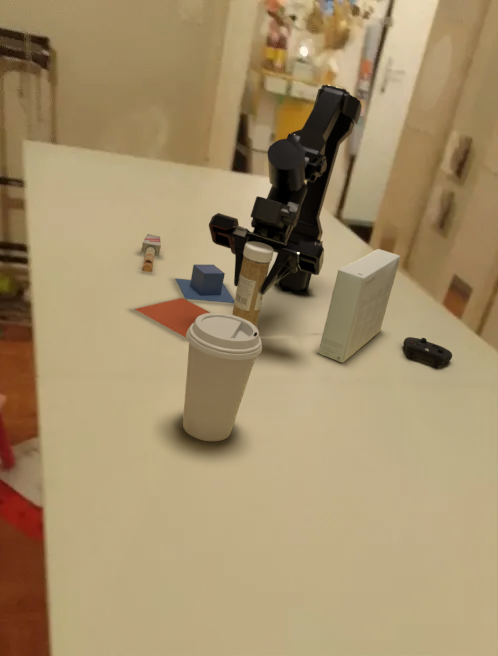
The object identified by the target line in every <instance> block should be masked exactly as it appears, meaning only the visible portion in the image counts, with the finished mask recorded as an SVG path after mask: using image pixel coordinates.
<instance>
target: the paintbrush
mask: <svg viewBox="0 0 498 656" xmlns="http://www.w3.org/2000/svg"><path fill="white" fill-rule="evenodd" d="M161 247H162V245H161V236H159V235H155V234H149V233H147V234H146V236H145V237H144V239H143V241H142V244H141V250H140V254H144V259H143V264H142V271H143V272H147V273H152V272H153V267H154V260H155V257H160V251H161Z"/></svg>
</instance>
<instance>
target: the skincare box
mask: <svg viewBox="0 0 498 656" xmlns="http://www.w3.org/2000/svg"><path fill="white" fill-rule="evenodd" d="M401 257H402V256H401V255H400V254H396V253H393V252H390V251H386V250H384V249H380V248H377V249H375V250H373V251H371V252H369V253H367V254H365V255H363V256H361V257H360V258H358V259H356V260H354V261H352V262H350V263H348V264H346V265H344V266H342V267H341V268H339V269H337V272H336V273H337V274H336V277H335V281H334V285H333V286H334V287H333V290H332V294H331V299H330V303H329V307H328V312H327V316H326V320H325V324H324V329H323V332H322V336H321V341H320V345H319V349H318V354H319V355H321V356H324V357H327V358H329V359H330V360H331V359H332V360H334V361H337V362H339V363H342V364H343V363H344V362H346V361H347V360H348V359H349V358H350V357H352V356H353V355H354V354H355V353H356V352H357V351H359V350H360V349H361V348H363V347H364V345H367V343H369V341H371V340H372V339H373V338H374V337H375V336H376V335H378V334H379V333H380V332H381V329H382V326H383V323H384V318H385V315H386V311H387V308H388V303H389V300H390V297H391V293H392V289H393V286H394V282H395V279H396V276H397V275H396V274H397V272H398V267H399V265H400V261H401Z"/></svg>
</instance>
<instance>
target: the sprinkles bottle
mask: <svg viewBox="0 0 498 656" xmlns="http://www.w3.org/2000/svg"><path fill="white" fill-rule="evenodd" d="M274 253H275V252H274V250H273V248H272V247H271V246H269V245H267V244H264V243H260V242H247V243H246V244H245V247H244V252H243V255H244V256H243V263H242V268H241V272H240V276H239V281H238V285H237V286H236V291H235V297H234V303H233V309H232V313H231V315H234V316H237V317H240V318H243V319H245V320H247V321H249V322H251V323H252V324H253V325H255V326H256V327H257V326H258V320H259V316H260V315H259V314H260V310H261V306H262V302H263V298H264V295H262V294H261V289H262V287H263V284H264V282H265V280H266V278H267V276H268V274H269V268H270V265H271V262H272V260H273V256H274Z"/></svg>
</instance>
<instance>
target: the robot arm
mask: <svg viewBox="0 0 498 656" xmlns="http://www.w3.org/2000/svg"><path fill="white" fill-rule="evenodd" d="M362 106H363V105H362V103H361V100H360V99H358V97H356V96H353V95H352V94H351V93H350V91H347V89H346V88H342V87H338V86H336V85H331V84H328V83H327V84H322V85H321V87H320V88H318V89H317V92H316V96H315V100H314V103H313V108H312V110H311V111H310V114H309V115H308V116H307V119H306V121H305V123H304V125H303V126H302V128H301V129H299V130H295V131H292V132H291V133H288V134H287V137H286V138H281V139H278V140H275V142H273V143H272V144H271V145H269V147H268V150H267V166H268V178H269V180H268V181H269V183H270V185H271V187H270V189H269V192H268V194H267V197H266V198H265V197H263V196H256V197H255V200H254V203H253V207H252V209H251V213H250V218H252V219H251V222H250V227H251V228H253V231H250V230H249V228H246V227H244V226H240V224H239V218H236V217H233V216H230V215H226V214H223V213H220V212H217V213H215V214H214V215H212V216H211V219H210V221H209V223H208V228H209V229H208V230H209V233H210V236H211V237H210V238H211V241H212V242H213V243H214V244H215V245H217V246H221V247H224V248H227V249H230V252H231V253H232V254H233V255H234V256H235V258H234V259H235V262H234V278H233V285H234V287H237V286H238V281H239V276H240V272H241V268H242V263H243V256H244V255H243V252H244V247H245V244H246V243H247V242H260V243H264V244H267V245H269V246H271V247H272V248H273V250H274V252H273V253H276V257H275V260H274V262H273V264H272V266H271V268H270V270H269V271H268V273H267V278H266V280H265V282H264V284H263V287H262V289H261V294H262V295H263V296H264V295H266V293H267V292H268V291H270V289H271V288H272V287H273V286H275V285H276V286H278V288H279V289H280V290H281V292H284V293H291V294H296V295H305V296H306V295H307V296H310V295H311V291H310V290H309V286H310V283H311V279H312V275H314V276H318V275H320V273H321V270H322V268H323V264H324V259H325V257H324V256H325V249H324V246H323V244H324V243H323V240H322V236H323V233H324V231H323V227H322V224H321V220H320V216H321V214H322V213H321V212H322V210H323V205H324V203H325V202H324V201H325V199H326V195H327V192H328V188H329V185H330V181H331V177H332V174H333V170H334V167H335V164H336V159H337V157H338V153H339V149H340V145H341V144H342V143H343V142H344V141H346V139H347V138H348V137H349V136H350V135H351V134H352V133H353V130H354V126H355V125H358V123H359V120H360V117H361V113H362Z"/></svg>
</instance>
